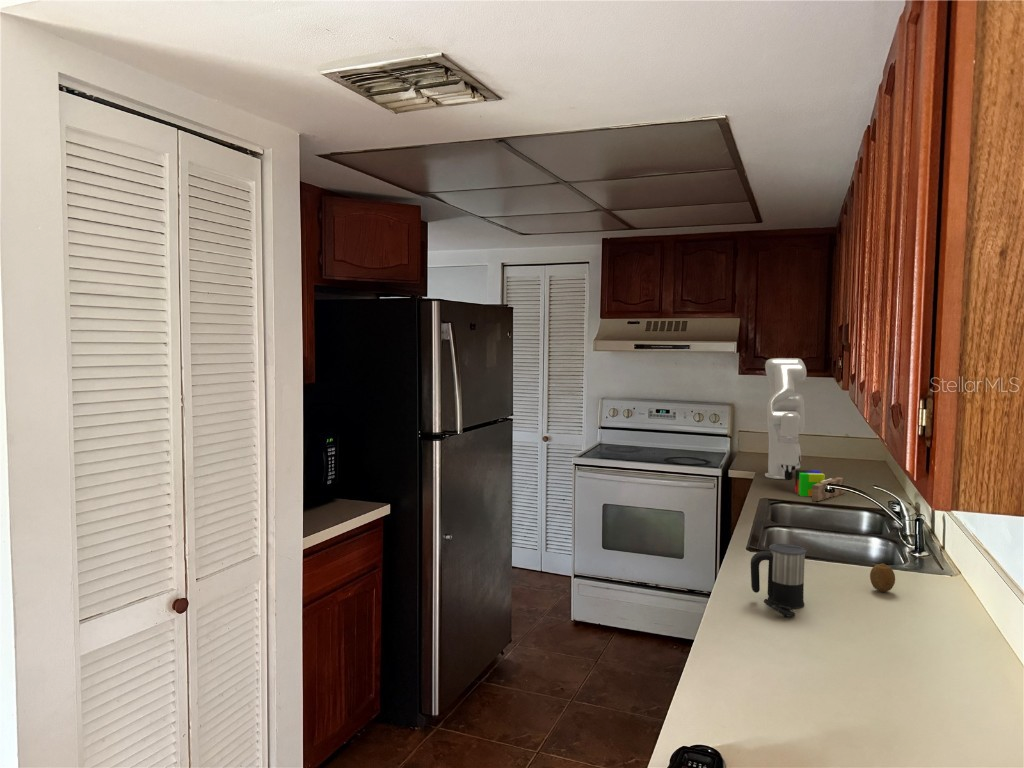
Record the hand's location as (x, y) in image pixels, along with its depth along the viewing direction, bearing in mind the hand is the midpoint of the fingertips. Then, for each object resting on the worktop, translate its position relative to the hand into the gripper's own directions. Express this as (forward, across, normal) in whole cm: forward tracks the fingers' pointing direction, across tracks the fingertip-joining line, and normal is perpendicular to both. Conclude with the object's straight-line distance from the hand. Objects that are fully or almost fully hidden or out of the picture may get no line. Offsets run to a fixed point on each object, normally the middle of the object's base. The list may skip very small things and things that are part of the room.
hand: (788, 479), depth 327 cm
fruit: (+5, +80, -106) cm, 133 cm away
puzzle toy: (+5, +10, 0) cm, 11 cm away
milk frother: (+5, +67, -138) cm, 153 cm away
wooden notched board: (+5, +18, 0) cm, 19 cm away
